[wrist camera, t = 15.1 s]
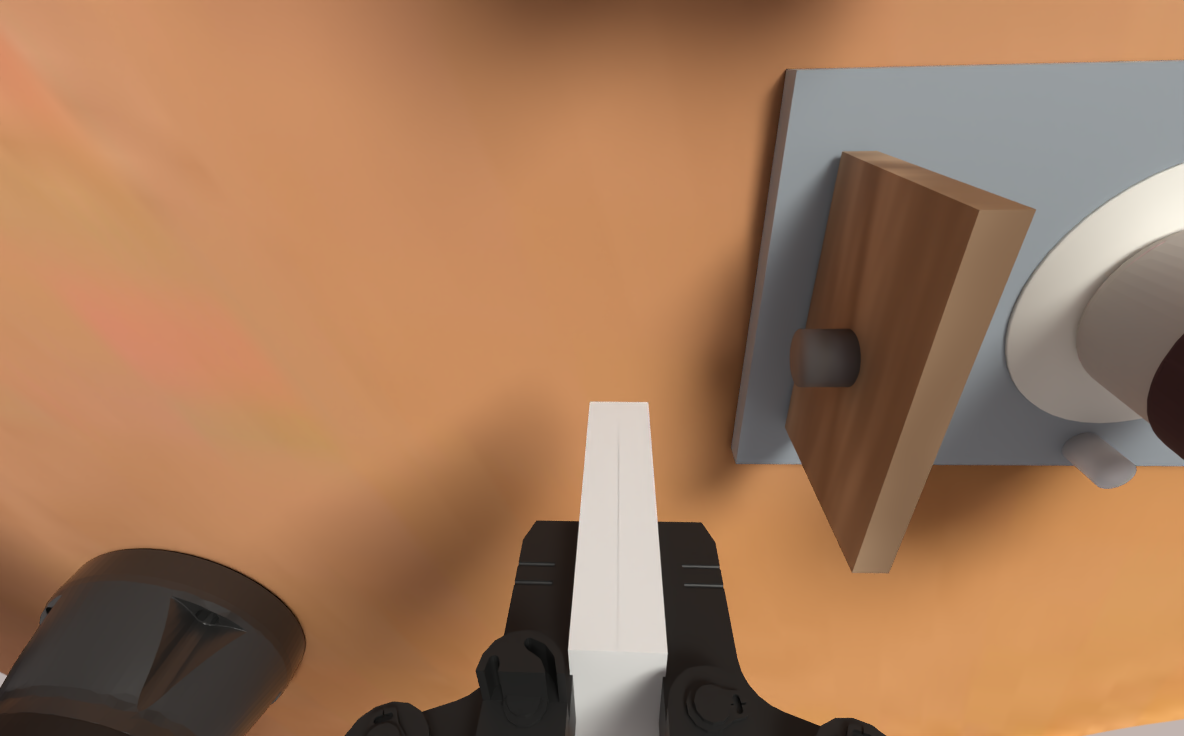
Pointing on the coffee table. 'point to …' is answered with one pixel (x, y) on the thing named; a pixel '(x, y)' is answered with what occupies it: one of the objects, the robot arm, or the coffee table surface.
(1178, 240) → the coffee cup
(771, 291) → the grey flat slab
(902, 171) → the panel
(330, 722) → the coffee table surface
